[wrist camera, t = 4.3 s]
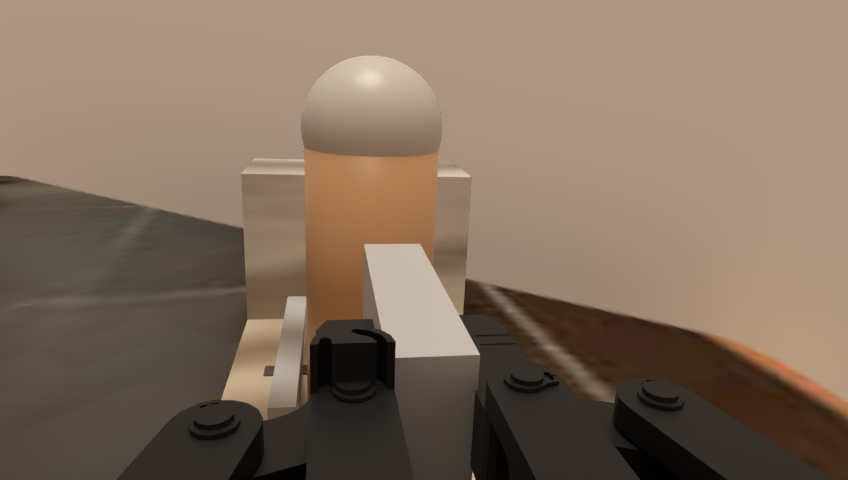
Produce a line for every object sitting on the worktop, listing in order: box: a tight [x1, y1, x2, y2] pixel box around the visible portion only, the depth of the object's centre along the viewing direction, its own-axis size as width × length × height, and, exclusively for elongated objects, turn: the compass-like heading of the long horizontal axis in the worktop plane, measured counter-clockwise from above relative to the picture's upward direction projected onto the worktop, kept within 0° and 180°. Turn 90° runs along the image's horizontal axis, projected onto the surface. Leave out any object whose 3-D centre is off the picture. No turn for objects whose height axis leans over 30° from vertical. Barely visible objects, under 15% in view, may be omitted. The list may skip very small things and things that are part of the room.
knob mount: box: [221, 159, 476, 480], centre depth 28 cm, size 20×12×10 cm, turn 9°
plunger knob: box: [301, 55, 442, 400], centre depth 23 cm, size 5×5×14 cm
